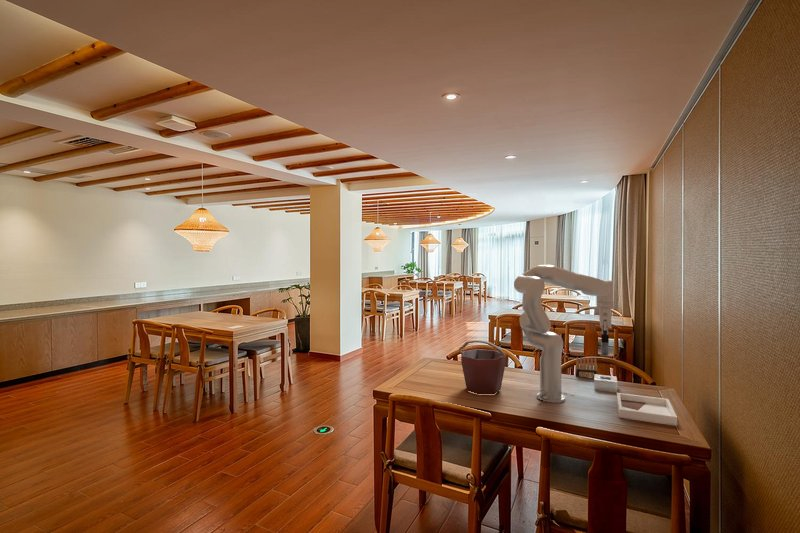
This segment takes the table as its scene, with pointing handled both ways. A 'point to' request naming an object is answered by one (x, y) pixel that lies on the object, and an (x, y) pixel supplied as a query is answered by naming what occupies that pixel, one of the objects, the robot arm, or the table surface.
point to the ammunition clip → (586, 368)
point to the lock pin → (604, 347)
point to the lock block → (605, 383)
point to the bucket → (483, 368)
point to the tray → (648, 409)
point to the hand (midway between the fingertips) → (605, 341)
